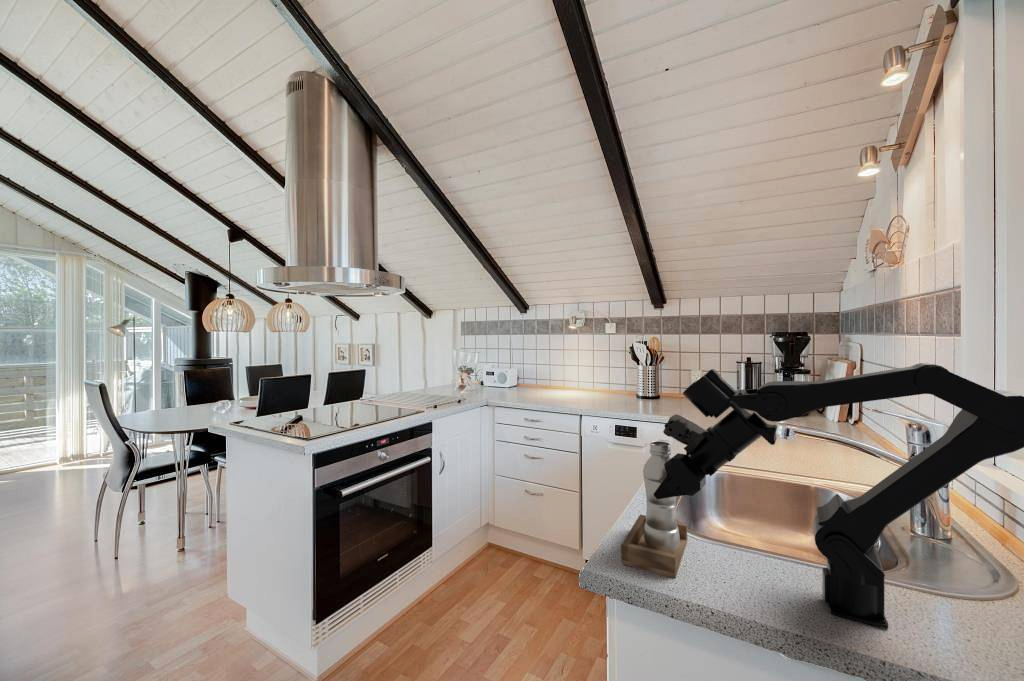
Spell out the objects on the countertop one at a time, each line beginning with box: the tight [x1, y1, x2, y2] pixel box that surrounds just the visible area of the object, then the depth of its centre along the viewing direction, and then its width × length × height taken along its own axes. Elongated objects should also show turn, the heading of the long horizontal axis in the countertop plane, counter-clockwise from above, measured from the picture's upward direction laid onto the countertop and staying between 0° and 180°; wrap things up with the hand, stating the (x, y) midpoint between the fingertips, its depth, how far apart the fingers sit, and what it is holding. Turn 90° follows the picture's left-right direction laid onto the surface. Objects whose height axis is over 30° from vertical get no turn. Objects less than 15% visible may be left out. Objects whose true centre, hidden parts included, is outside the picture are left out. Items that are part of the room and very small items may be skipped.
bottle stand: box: [620, 514, 688, 579], centre depth 80 cm, size 9×14×4 cm, turn 150°
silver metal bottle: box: [642, 440, 680, 553], centre depth 79 cm, size 6×7×20 cm
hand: (663, 488), depth 79 cm, fingers open, 9 cm apart
